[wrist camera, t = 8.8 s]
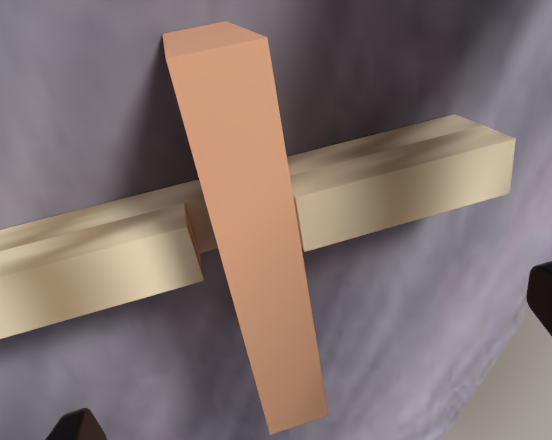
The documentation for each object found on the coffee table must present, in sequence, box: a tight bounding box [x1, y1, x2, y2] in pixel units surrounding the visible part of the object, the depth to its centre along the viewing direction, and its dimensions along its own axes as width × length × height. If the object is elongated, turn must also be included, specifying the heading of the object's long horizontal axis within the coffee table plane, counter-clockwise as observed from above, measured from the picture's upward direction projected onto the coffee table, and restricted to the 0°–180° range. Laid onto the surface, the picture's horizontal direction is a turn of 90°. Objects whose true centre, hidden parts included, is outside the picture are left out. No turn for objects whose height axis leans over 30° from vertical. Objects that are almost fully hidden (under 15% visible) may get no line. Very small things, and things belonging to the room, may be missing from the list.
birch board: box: [0, 114, 516, 339], centre depth 18 cm, size 22×2×4 cm, turn 101°
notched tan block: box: [162, 21, 328, 435], centre depth 16 cm, size 14×2×7 cm, turn 10°
